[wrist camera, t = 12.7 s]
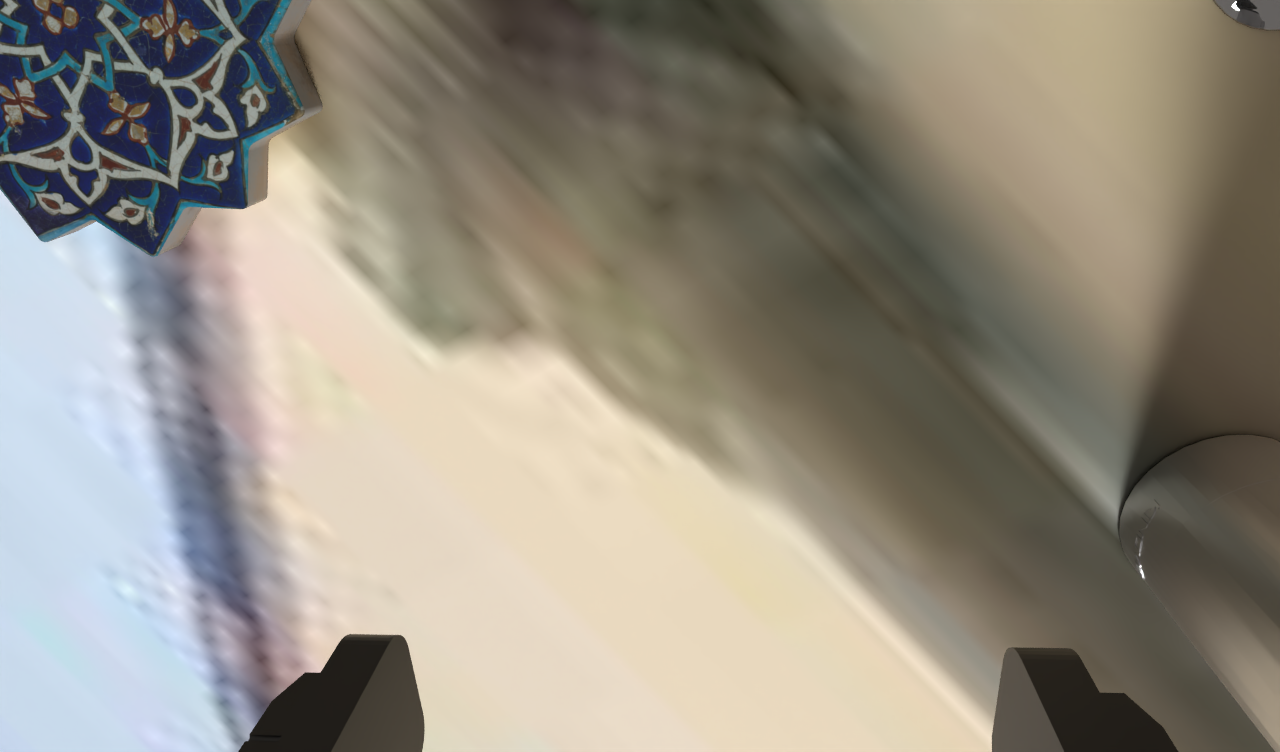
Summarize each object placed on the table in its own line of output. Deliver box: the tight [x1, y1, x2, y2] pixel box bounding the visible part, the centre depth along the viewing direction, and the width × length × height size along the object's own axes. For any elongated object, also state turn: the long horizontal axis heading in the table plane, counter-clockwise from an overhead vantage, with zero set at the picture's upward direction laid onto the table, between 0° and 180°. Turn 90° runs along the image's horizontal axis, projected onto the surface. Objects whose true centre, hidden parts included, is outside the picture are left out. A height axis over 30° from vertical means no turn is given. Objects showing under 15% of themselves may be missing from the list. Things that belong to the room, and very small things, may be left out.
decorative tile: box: [0, 0, 323, 256], centre depth 34 cm, size 20×20×2 cm
